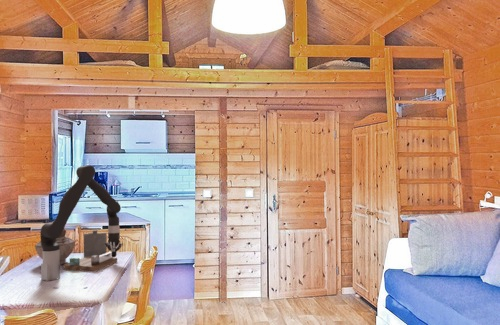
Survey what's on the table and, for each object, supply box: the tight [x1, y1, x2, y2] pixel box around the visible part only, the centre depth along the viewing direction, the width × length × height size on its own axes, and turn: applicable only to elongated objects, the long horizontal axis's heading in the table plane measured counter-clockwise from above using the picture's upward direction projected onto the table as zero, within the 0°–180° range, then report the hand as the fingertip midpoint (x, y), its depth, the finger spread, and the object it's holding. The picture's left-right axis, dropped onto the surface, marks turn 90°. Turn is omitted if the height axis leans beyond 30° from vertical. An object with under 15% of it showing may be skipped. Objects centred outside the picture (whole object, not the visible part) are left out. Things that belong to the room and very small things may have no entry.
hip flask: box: [83, 229, 108, 258], centre depth 294 cm, size 16×4×20 cm, turn 105°
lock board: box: [62, 256, 118, 272], centre depth 269 cm, size 24×25×7 cm
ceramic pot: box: [34, 227, 76, 266], centre depth 276 cm, size 25×25×24 cm
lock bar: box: [91, 251, 114, 265], centre depth 268 cm, size 20×5×5 cm, turn 166°
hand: (114, 256), depth 273 cm, fingers closed
